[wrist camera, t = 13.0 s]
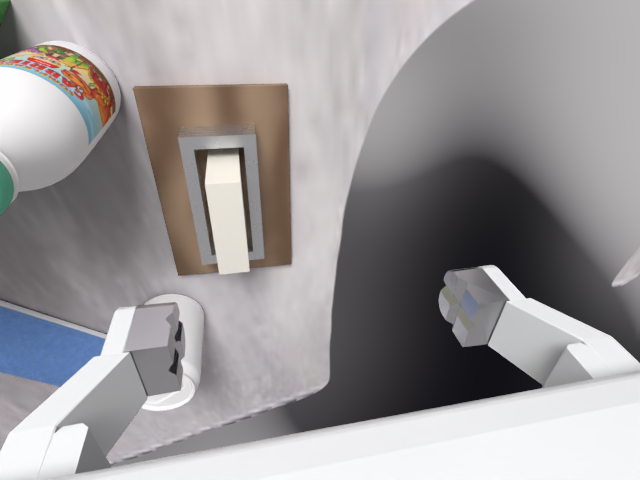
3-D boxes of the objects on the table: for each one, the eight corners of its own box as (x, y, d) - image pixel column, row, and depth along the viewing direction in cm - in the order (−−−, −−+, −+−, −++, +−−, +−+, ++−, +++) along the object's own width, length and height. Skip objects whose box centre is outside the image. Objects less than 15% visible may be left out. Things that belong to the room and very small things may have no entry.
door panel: (239, 147, 39) (241, 182, 33) (247, 228, 45) (250, 271, 39) (207, 148, 39) (203, 184, 32) (219, 230, 44) (218, 274, 38)
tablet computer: (-72, 348, 47) (-78, 357, 46) (-39, 282, 43) (-45, 290, 42) (91, 387, 57) (88, 395, 56) (130, 336, 53) (128, 344, 52)
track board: (286, 83, 37) (287, 85, 37) (290, 260, 50) (291, 263, 49) (134, 86, 35) (133, 88, 34) (178, 271, 48) (178, 275, 47)
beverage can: (126, 308, 49) (102, 390, 40) (178, 280, 48) (167, 357, 39) (167, 341, 54) (155, 421, 45) (216, 316, 53) (214, 393, 44)
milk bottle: (127, 133, 37) (54, 257, 21) (36, 126, 35) (-121, 257, 19) (116, 46, 33) (14, 119, 17) (12, 32, 31) (-215, 100, 15)
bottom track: (253, 124, 38) (255, 134, 36) (262, 243, 47) (264, 258, 44) (180, 126, 37) (177, 137, 35) (203, 249, 46) (202, 264, 43)
